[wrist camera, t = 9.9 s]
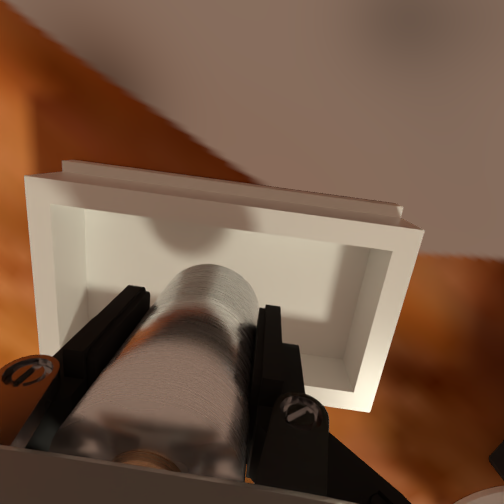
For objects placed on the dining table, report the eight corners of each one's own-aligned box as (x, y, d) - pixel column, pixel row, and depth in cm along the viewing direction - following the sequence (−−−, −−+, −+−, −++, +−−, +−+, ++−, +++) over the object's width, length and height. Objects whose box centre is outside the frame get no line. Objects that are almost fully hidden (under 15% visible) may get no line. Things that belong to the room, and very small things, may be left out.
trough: (350, 372, 19) (367, 420, 16) (81, 333, 19) (41, 372, 16) (395, 203, 16) (428, 218, 13) (74, 159, 16) (22, 162, 13)
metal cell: (252, 356, 14) (228, 607, 6) (160, 343, 14) (29, 576, 6) (265, 271, 13) (253, 457, 5) (164, 257, 13) (6, 419, 5)
